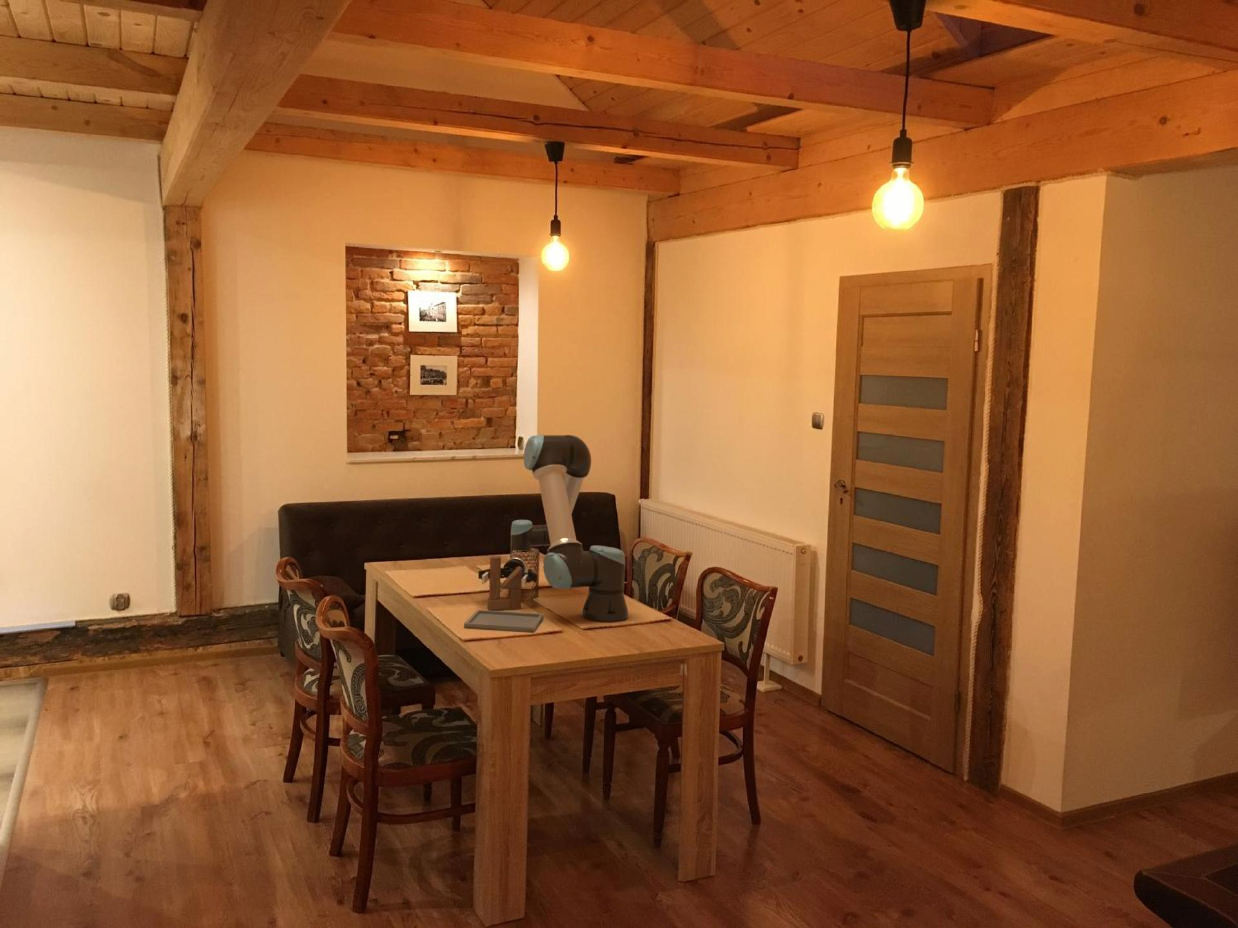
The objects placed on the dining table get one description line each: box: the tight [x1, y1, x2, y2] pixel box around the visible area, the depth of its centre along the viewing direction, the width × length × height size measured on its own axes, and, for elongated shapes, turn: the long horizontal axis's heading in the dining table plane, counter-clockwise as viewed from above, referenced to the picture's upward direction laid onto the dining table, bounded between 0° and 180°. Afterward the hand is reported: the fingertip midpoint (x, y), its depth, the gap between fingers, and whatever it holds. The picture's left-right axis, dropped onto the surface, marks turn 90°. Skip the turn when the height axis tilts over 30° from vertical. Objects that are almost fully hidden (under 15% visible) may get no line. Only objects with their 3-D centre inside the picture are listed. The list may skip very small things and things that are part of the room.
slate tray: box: [463, 609, 544, 633], centre depth 338 cm, size 22×18×2 cm
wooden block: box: [487, 555, 522, 611], centre depth 356 cm, size 4×11×18 cm, turn 113°
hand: (503, 581), depth 353 cm, fingers open, 13 cm apart
